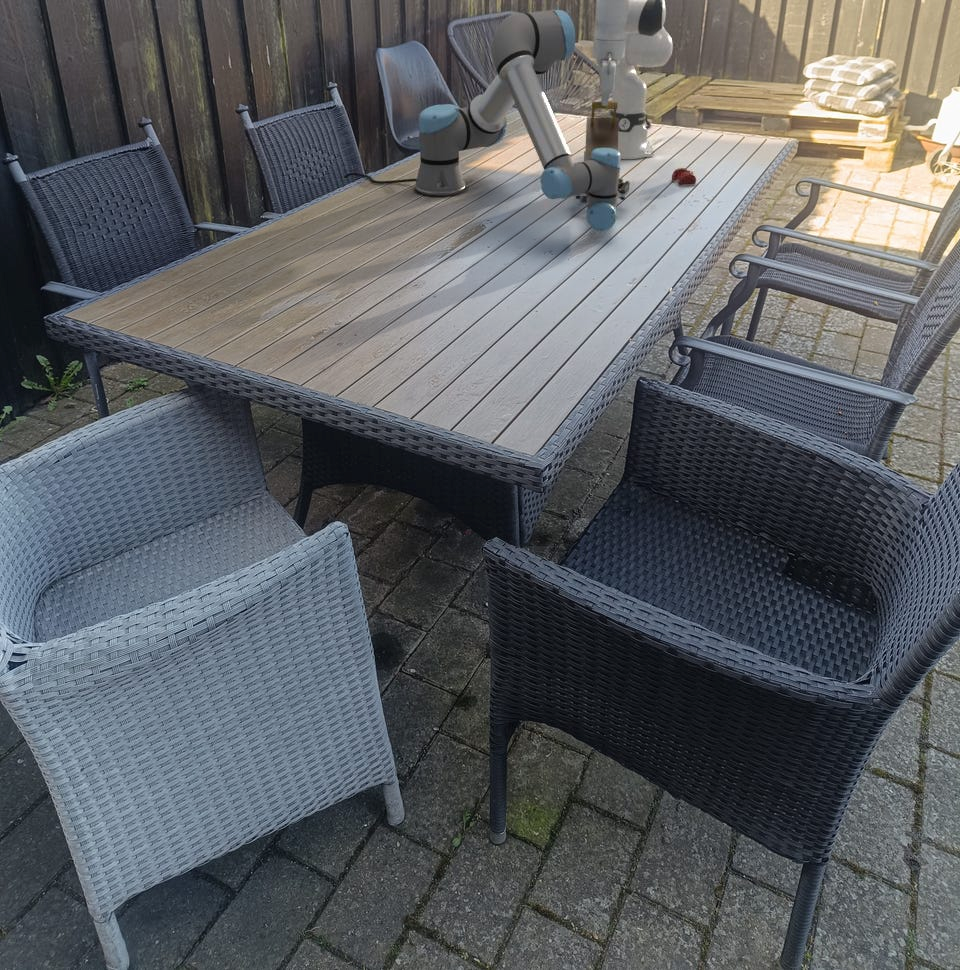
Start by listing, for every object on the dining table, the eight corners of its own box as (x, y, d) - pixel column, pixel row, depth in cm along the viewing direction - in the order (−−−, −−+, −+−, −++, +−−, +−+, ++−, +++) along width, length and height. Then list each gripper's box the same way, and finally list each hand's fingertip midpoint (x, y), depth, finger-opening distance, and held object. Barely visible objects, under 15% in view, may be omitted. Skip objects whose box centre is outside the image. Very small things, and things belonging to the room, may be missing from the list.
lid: (586, 120, 249) (588, 96, 241) (618, 121, 248) (621, 96, 240) (584, 165, 243) (586, 142, 235) (617, 166, 242) (620, 143, 234)
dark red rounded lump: (687, 164, 265) (698, 171, 259) (685, 177, 268) (697, 185, 262) (670, 166, 264) (681, 173, 258) (669, 179, 267) (680, 187, 261)
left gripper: (559, 213, 232) (561, 189, 250) (640, 215, 230) (636, 191, 248) (561, 185, 228) (562, 163, 246) (643, 188, 226) (638, 165, 244)
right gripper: (622, 56, 224) (616, 112, 232) (619, 44, 240) (614, 97, 248) (598, 56, 224) (593, 112, 232) (597, 44, 241) (593, 96, 249)
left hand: (599, 177), depth 247 cm, fingers closed on chest, 9 cm apart
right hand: (604, 104), depth 240 cm, fingers closed, pressing on lid
